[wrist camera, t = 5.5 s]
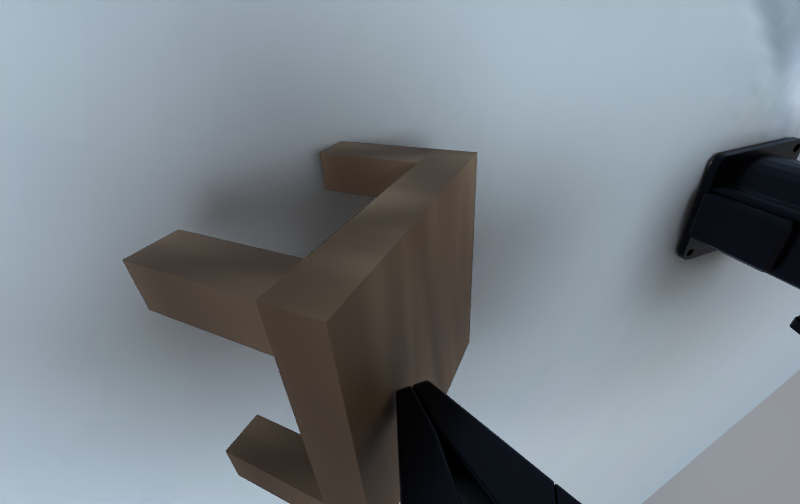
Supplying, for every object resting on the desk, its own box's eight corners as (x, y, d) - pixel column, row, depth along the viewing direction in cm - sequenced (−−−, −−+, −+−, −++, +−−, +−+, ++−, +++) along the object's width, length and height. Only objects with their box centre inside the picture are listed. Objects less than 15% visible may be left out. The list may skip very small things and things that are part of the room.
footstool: (477, 152, 12) (326, 321, 6) (469, 342, 16) (377, 552, 10) (341, 141, 14) (122, 259, 8) (366, 313, 18) (238, 475, 12)
